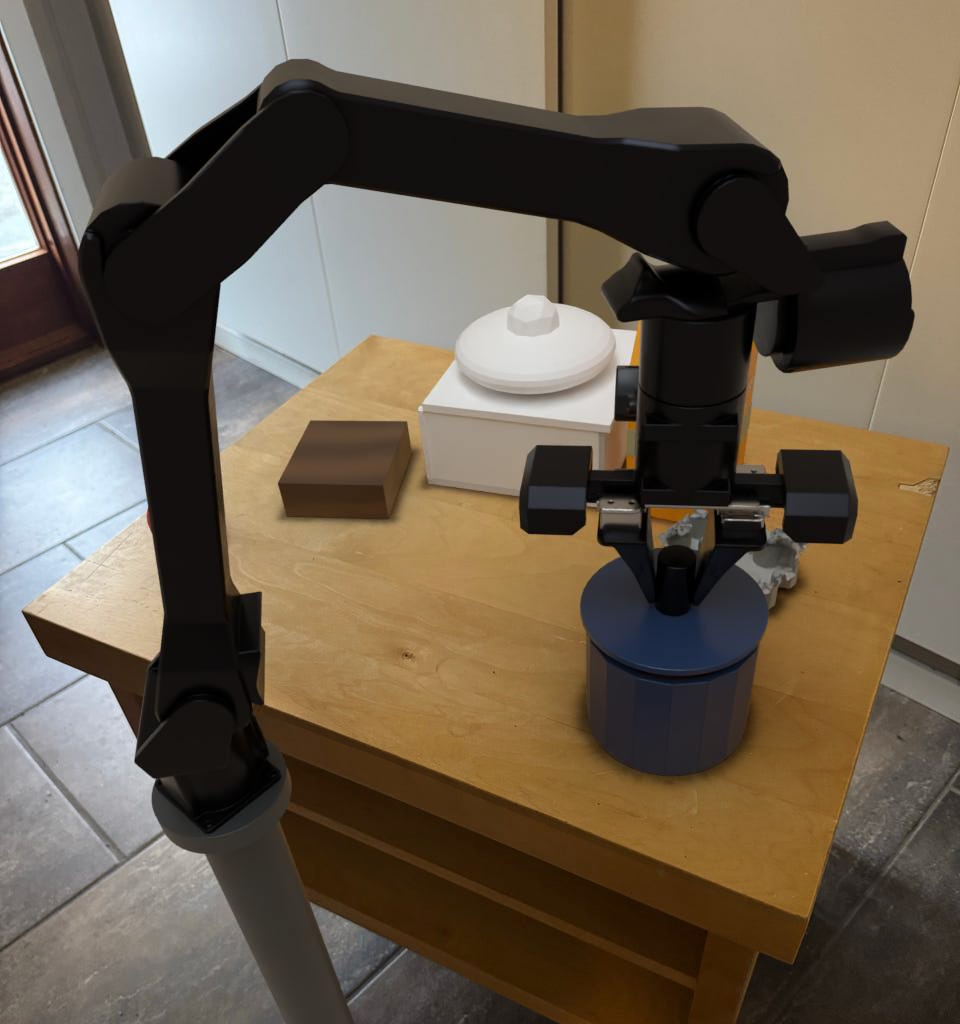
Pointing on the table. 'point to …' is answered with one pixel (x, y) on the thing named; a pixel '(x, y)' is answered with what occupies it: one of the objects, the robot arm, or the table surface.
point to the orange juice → (680, 513)
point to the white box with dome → (524, 395)
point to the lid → (673, 616)
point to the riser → (346, 469)
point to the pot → (667, 713)
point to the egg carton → (763, 566)
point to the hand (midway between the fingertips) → (673, 600)
